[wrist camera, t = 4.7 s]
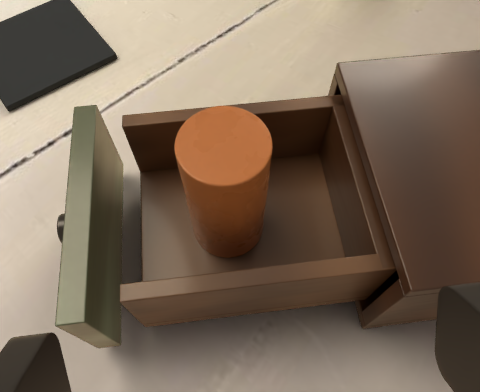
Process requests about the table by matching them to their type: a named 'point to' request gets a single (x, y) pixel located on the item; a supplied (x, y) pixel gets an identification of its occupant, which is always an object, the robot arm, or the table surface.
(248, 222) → the spice tin
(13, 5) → the table surface
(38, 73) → the mat
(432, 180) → the cabinet
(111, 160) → the drawer
